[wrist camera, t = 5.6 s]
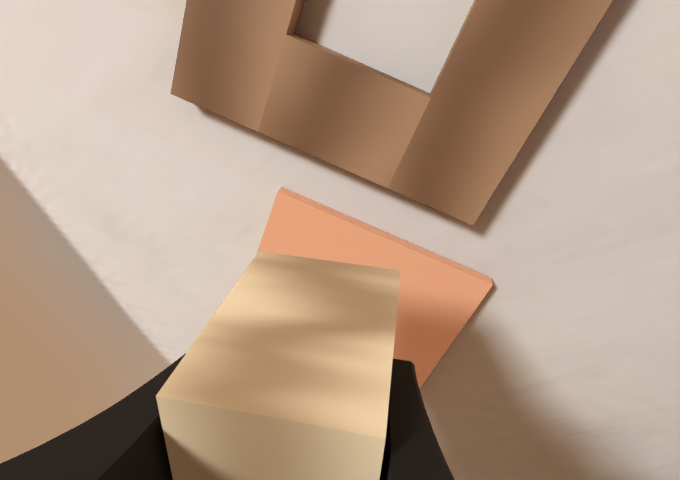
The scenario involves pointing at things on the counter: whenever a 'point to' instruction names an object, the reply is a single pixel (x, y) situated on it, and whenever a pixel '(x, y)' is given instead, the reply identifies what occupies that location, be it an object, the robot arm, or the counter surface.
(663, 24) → the counter surface
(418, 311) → the tile
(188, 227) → the counter surface
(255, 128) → the pocket plate
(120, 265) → the counter surface
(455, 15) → the counter surface
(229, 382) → the birch block
